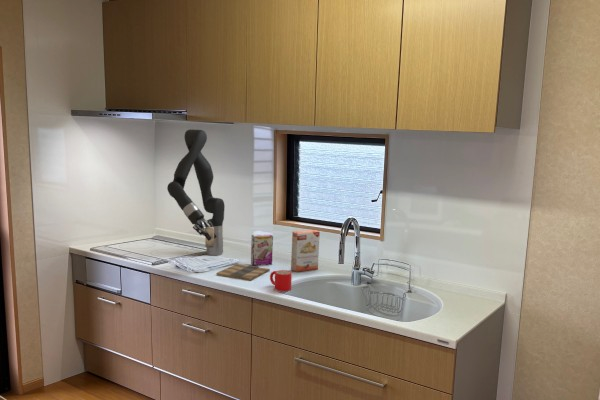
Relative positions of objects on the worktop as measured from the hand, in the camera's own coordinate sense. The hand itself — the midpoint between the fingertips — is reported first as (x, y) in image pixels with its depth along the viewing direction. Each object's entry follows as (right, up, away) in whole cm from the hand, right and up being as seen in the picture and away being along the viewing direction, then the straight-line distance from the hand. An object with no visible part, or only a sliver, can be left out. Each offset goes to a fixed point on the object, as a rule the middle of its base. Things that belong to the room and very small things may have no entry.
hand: (212, 238), depth 275 cm
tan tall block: (-2, -4, +1) cm, 5 cm away
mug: (+35, -22, -23) cm, 47 cm away
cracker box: (+48, -18, +10) cm, 52 cm away
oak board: (+16, -18, 0) cm, 24 cm away
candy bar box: (+24, -16, +18) cm, 34 cm away
